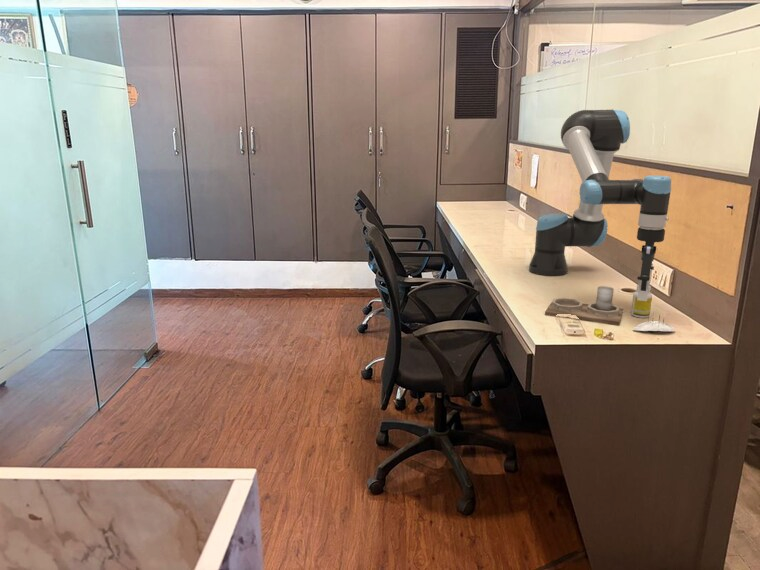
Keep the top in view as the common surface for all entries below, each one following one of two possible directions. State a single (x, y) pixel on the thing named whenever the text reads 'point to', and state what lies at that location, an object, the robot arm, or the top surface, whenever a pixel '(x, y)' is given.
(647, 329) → the pincushion
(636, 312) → the supplement bottle
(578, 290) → the top surface
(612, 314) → the board
